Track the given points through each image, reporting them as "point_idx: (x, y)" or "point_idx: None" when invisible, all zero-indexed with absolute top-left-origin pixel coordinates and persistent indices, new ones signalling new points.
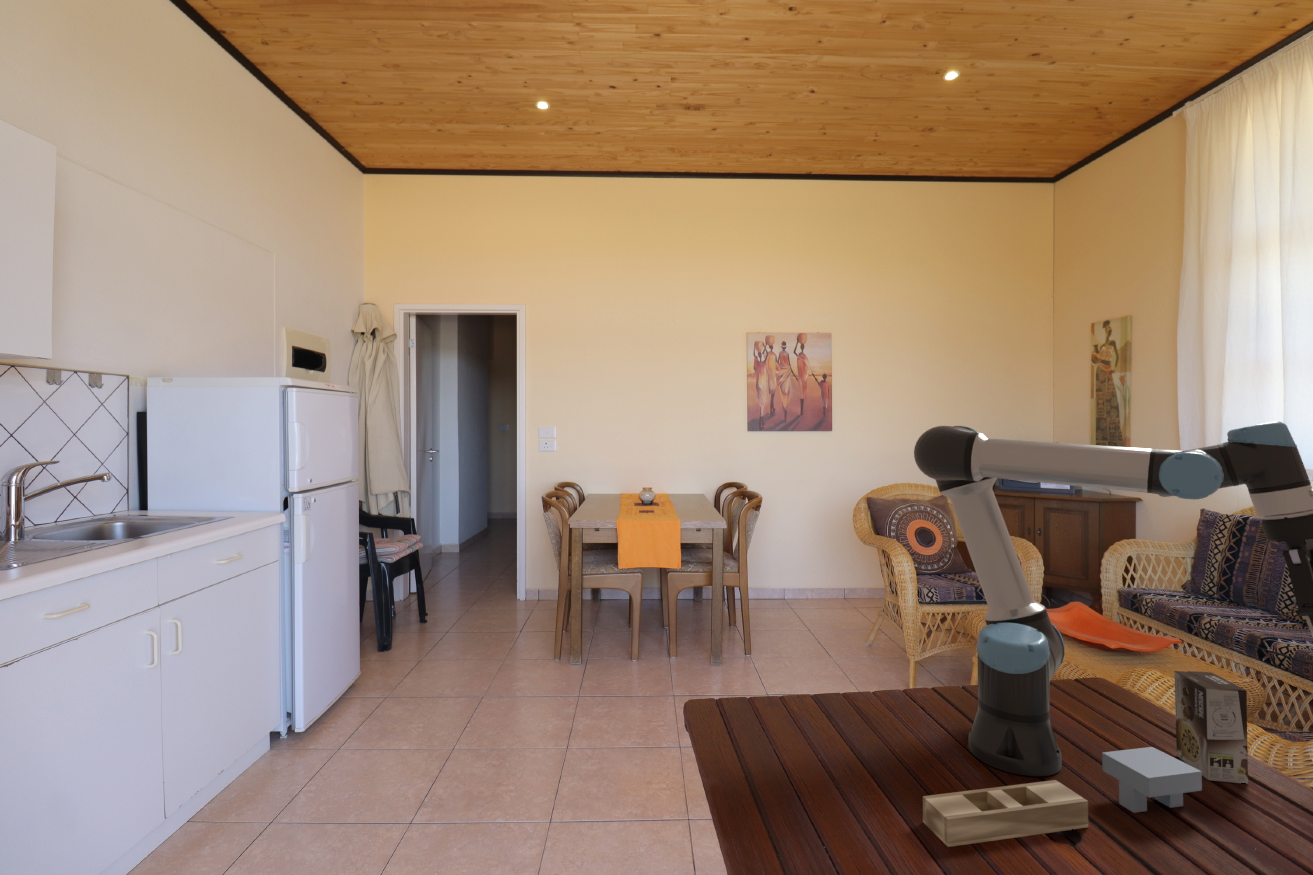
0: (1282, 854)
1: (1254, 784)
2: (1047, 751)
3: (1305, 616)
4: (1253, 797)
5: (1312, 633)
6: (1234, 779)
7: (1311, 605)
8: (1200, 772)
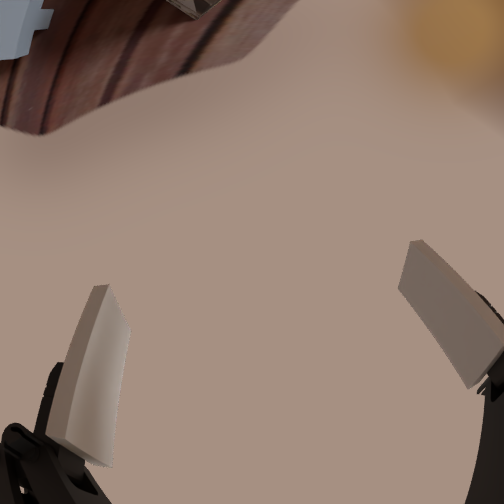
0: (43, 122)
1: (204, 24)
2: None
3: (46, 430)
4: (155, 38)
5: (66, 361)
6: (181, 10)
7: (80, 491)
8: (13, 58)
